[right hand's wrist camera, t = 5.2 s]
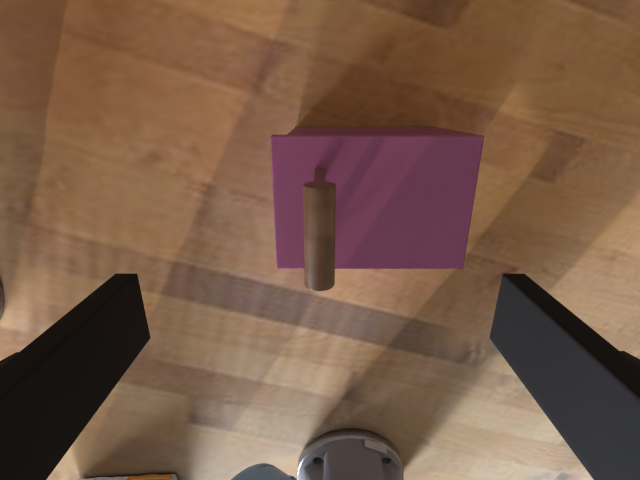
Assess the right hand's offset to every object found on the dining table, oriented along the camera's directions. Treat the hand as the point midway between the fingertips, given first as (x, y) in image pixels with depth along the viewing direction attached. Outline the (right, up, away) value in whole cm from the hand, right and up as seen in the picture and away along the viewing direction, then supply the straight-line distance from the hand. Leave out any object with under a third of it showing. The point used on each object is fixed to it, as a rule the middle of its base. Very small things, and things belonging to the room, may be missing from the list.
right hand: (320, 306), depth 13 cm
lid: (+4, +5, +14) cm, 15 cm away
